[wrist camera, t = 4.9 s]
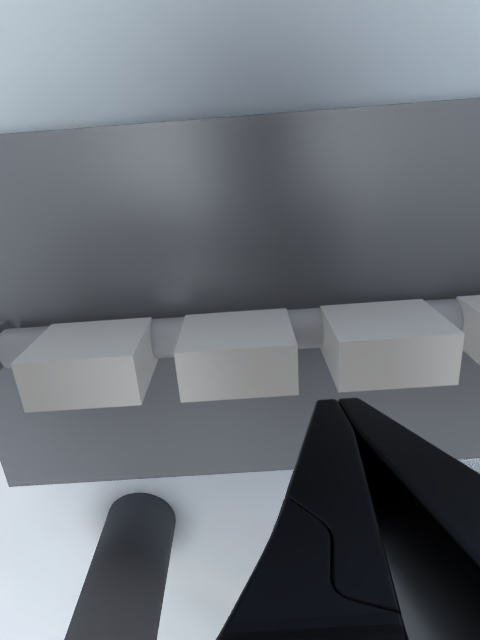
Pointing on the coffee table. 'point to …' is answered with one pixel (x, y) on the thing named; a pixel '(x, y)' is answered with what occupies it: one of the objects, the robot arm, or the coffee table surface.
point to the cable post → (126, 573)
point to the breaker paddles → (242, 352)
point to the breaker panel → (233, 268)
